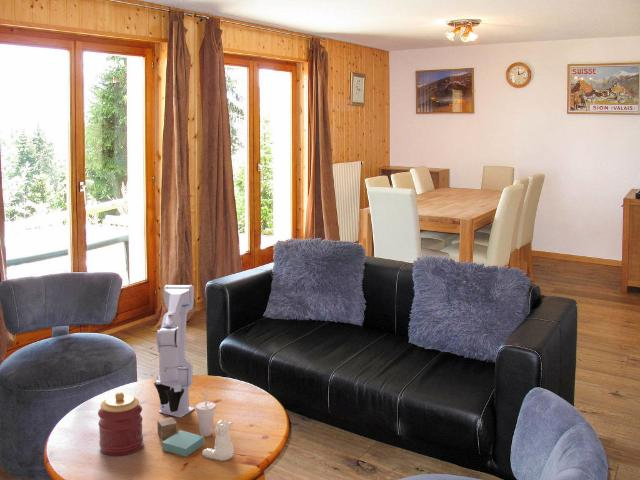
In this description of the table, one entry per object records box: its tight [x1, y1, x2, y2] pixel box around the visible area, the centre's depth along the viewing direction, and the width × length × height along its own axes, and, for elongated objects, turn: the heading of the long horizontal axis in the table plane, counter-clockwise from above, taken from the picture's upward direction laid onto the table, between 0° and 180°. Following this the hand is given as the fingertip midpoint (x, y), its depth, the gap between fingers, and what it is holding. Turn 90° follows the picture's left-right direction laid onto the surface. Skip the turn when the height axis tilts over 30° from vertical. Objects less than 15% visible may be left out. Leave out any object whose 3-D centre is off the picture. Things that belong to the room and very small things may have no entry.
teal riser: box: [161, 429, 205, 457], centre depth 206 cm, size 9×9×2 cm
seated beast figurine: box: [201, 419, 235, 462], centre depth 200 cm, size 10×9×12 cm
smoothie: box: [195, 392, 217, 437], centre depth 214 cm, size 6×6×14 cm
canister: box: [97, 391, 144, 457], centre depth 205 cm, size 13×13×18 cm
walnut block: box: [156, 416, 178, 442], centre depth 213 cm, size 5×5×5 cm
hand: (169, 407), depth 212 cm, fingers open, 7 cm apart
